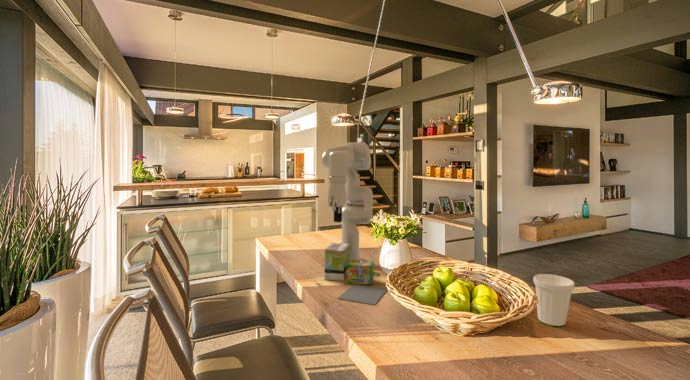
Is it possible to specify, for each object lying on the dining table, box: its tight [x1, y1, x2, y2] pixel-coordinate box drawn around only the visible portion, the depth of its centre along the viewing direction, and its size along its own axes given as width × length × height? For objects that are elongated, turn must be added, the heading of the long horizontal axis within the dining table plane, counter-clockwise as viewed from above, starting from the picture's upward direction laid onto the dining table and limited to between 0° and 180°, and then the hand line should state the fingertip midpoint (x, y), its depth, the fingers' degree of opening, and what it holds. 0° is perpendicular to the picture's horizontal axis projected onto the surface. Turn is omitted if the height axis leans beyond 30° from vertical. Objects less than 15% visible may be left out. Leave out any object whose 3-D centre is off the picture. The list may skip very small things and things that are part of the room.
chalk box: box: [346, 259, 381, 286], centre depth 164 cm, size 9×9×15 cm
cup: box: [532, 273, 576, 327], centre depth 124 cm, size 12×12×15 cm
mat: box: [337, 284, 388, 306], centre depth 150 cm, size 18×16×1 cm
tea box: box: [323, 242, 350, 282], centre depth 173 cm, size 15×10×15 cm
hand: (337, 221), depth 155 cm, fingers closed
